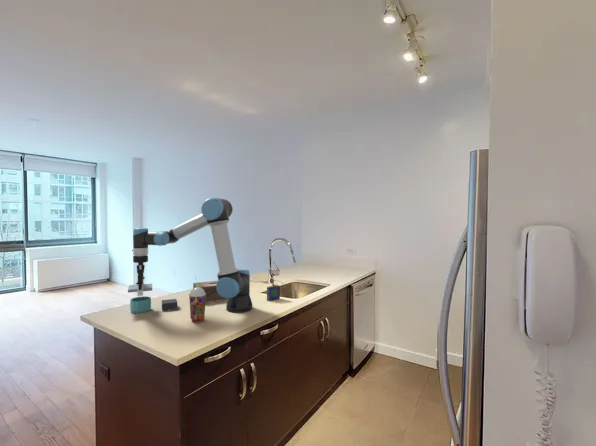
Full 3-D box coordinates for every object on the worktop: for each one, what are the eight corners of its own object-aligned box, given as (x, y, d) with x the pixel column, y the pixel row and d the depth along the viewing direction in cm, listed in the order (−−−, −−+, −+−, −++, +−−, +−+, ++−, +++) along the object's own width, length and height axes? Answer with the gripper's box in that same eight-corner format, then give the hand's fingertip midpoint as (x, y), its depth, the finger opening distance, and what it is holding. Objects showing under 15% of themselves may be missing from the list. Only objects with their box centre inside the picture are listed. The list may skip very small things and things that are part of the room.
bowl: (150, 311, 174) (150, 300, 173) (129, 314, 169) (129, 302, 169) (150, 306, 183) (150, 295, 183) (131, 308, 178) (130, 297, 178)
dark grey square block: (177, 308, 179) (177, 302, 179) (162, 310, 175) (162, 303, 175) (176, 305, 186) (176, 298, 186) (161, 306, 183) (161, 300, 182)
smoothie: (196, 324, 154) (196, 284, 154) (185, 321, 158) (185, 282, 158) (209, 319, 161) (209, 281, 161) (198, 316, 165) (198, 279, 165)
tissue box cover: (198, 303, 191) (198, 287, 191) (193, 298, 203) (193, 283, 203) (238, 298, 205) (238, 283, 204) (230, 293, 217) (230, 279, 217)
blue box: (267, 301, 197) (267, 284, 196) (265, 300, 199) (265, 283, 199) (280, 299, 201) (280, 283, 201) (278, 298, 204) (278, 282, 204)
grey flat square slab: (152, 290, 173) (152, 287, 173) (127, 292, 168) (127, 289, 168) (152, 286, 184) (152, 283, 184) (129, 287, 179) (129, 285, 178)
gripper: (134, 252, 185) (134, 288, 185) (132, 258, 163) (131, 298, 163) (148, 252, 188) (148, 287, 188) (147, 257, 166) (147, 297, 166)
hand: (140, 292), depth 176 cm, fingers closed on grey flat square slab, 12 cm apart
